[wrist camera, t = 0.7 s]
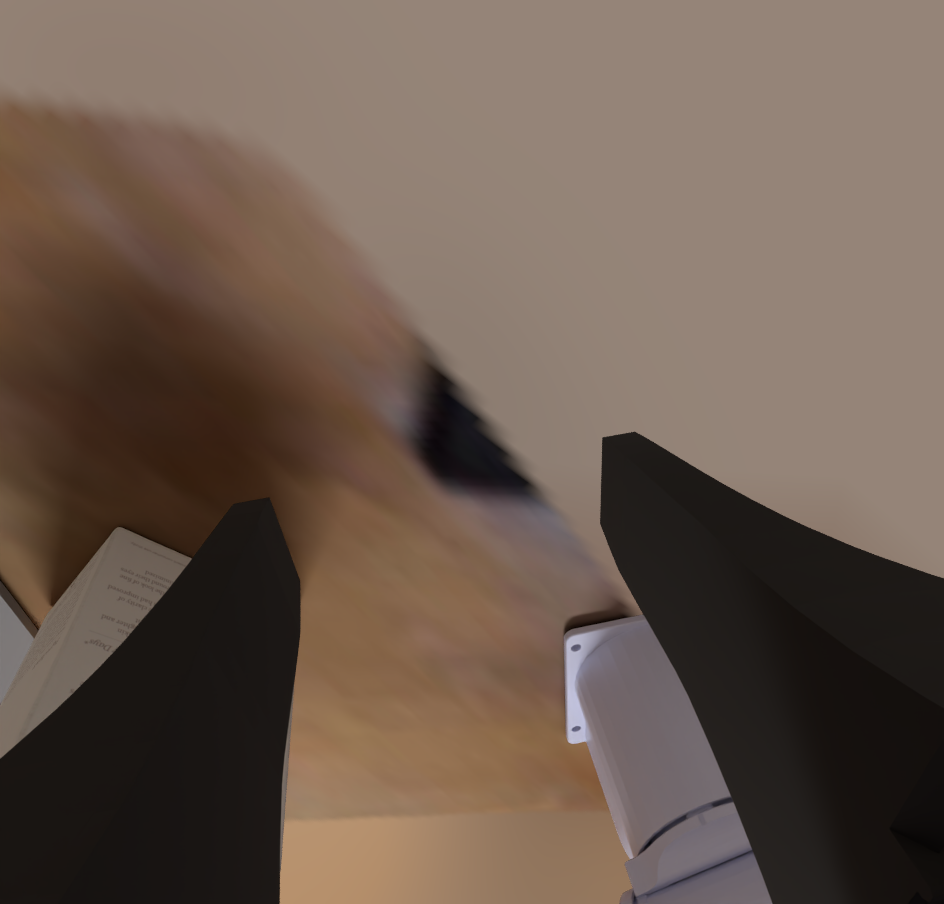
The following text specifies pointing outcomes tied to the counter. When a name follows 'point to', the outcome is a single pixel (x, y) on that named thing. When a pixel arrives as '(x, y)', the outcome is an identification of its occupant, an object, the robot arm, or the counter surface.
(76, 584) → the small box
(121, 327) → the counter surface
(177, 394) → the counter surface
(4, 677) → the gray mat
